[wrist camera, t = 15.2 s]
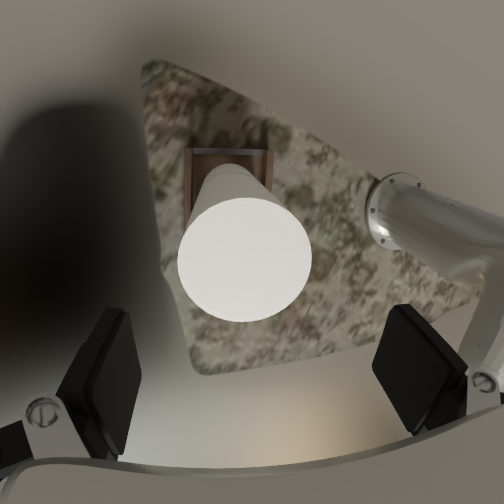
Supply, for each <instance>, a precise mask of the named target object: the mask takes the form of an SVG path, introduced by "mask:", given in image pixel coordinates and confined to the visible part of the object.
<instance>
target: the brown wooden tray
mask: <svg viewBox="0 0 504 504" xmlns="http://www.w3.org/2000/svg"><path fill="white" fill-rule="evenodd" d="M273 157H274V151H272V150H260V149H238V148H185V170H184V225H185V230H186V227H187V224H188V221H189V219H190V216H191V213H192V211H193V208H194V205H195V203H196V200H197V197H198V195H199V192H200V190H201V187H202V185H203V182H204V180H205V178H206V176H207V174H208V173H209V172H210V171H211V170H212V169H214V168H215V167H217V166H219V165H222V164H226V163H232V164H237V165H240V166H242V167H244V168H245V169H247V170H248V171H249V172H250V173H251V174H252V175H253V176H254V177H255V178H256V179H257V180H258V181H259V182H260V183H261V184H262V185H263V186H264V187H265V188H266V189H267V190H268V191H269V192H270V193H271V189H272V173H273Z"/></svg>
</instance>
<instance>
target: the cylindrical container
mask: <svg viewBox="0 0 504 504" xmlns="http://www.w3.org/2000/svg"><path fill="white" fill-rule="evenodd" d="M311 259H312V255H311V246H310V243H309V240H308V237H307V234H306V232H305V230H304V229H303V227H302V225H301V224H300V222H299V221H298V220H297V219H296V218H295V217H294V216H293V215H292V214H291V213H290V212H289V211H288V210H287V209H286V208H285V207H284V206H283V205H282V204H281V203H280V202H279V201H278V200H277V199H276V197H275V196H274V195H273V194H271V193H270V192H269V191H268V190H267V189H266V188H265V187H264V186H263V185H262V184H261V183H260V182H259V181H258V180H257V179H256V178H255V177H254V176H253V175H252V174H251V173H250V172H249V171H248V170H247V169H245V168H244V167H242V166H240V165H237V164H232V163H226V164H222V165H219V166H217V167H215V168H214V169H212V170H211V171H210V172H209V173H208V174H207V176H206V178H205V180H204V182H203V185H202V187H201V190H200V192H199V195H198V197H197V200H196V203H195V205H194V208H193V211H192V213H191V216H190V219H189V221H188V224H187V227H186V230H185V232H184V235H183V238H182V241H181V244H180V247H179V251H178V261H177V263H178V273H179V276H180V279H181V283H182V285H183V287H184V289H185V291H186V292H187V294H188V296H189V297H190V298H191V299H192V300H193V301H194V302H195V304H196V305H197V306H199V307H200V308H202V309H203V310H204V311H206V312H207V313H209V314H211V315H213V316H215V317H217V318H221V319H224V320H228V321H236V322H250V321H256V320H260V319H264V318H267V317H269V316H272V315H274V314H276V313H278V312H279V311H281V310H283V309H284V308H286V307H287V306H288V305H289V304H290V303H291V302H292V301H294V300H295V299H296V297H297V296H298V295H299V293H300V292H301V291H302V289H303V287H304V285H305V283H306V281H307V279H308V276H309V273H310V269H311Z"/></svg>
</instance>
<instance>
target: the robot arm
mask: <svg viewBox="0 0 504 504" xmlns="http://www.w3.org/2000/svg"><path fill="white" fill-rule="evenodd" d="M365 219H366V225H367V228H368V231H369V233H370V235H371V237H372V238H373V239H374V240H375V242H376V243H378V244H379V245H380V246H382V247H384V248H386V249H390V250H400V249H404V250H405V251H407V252H408V253H410V254H411V255H413V256H414V257H415V258H417V259H418V260H420V261H421V262H423V263H424V264H425V265H427V266H428V267H430V268H431V269H432V270H434V271H435V272H437V273H438V274H439V275H441V276H442V277H444V278H445V279H446V280H448V281H449V282H451V283H453V284H455V285H457V286H462V287H470V286H475V285H479V284H482V283H484V287H483V290H482V293H481V296H480V300H479V303H478V305H477V307H476V310H475V312H474V315H473V317H472V319H471V321H470V324H469V326H468V328H467V330H466V333H465V335H464V337H463V339H462V342H461V344H460V346H459V349H458V352H457V353H456V352H455V351H454V350H453V349H452V347H451V346H450V345H449V344H448V343H447V342H446V341H445V340H444V339H443V338H442V337H441V336H440V335H439V334H438V332H437V331H436V330H435V329H434V328H433V327H432V326H431V325H430V324H429V323H428V322H427V321H426V320H425V319H424V318H423V317H422V316H421V315H420V314H419V313H418V312H417V311H416V310H415V309H414V308H413V307H412V306H411V305H410V304H399V305H395V306H394V307H393V309H391V310H390V312H389V315H388V318H387V321H386V324H385V328H384V331H383V334H382V337H381V340H380V343H379V346H378V349H377V352H376V354H375V357H374V360H373V363H372V369H373V372H374V374H375V375H376V377H377V379H378V381H379V382H380V384H381V386H382V387H383V389H384V391H385V393H386V394H387V396H388V398H389V399H390V401H391V403H392V405H393V406H394V408H395V410H396V412H397V413H398V415H399V417H400V419H401V421H402V422H403V424H404V426H405V428H406V429H407V431H408V432H411V433H412V435H413V437H410V438H407V439H404V440H401V441H398V442H394V443H391V444H387V445H384V446H380V447H377V448H373V449H369V450H365V451H361V452H357V453H352V454H348V455H344V456H338V457H333V458H328V459H322V460H316V461H310V462H304V463H296V464H287V465H278V466H267V467H252V468H224V469H210V468H209V469H207V468H204V469H203V468H181V467H165V466H153V465H143V464H135V463H128V462H119V461H117V459H118V455H123V453H124V449H125V445H126V440H127V435H128V431H129V427H130V422H131V418H132V414H133V410H134V405H135V402H136V398H137V394H138V390H139V386H140V382H141V375H142V374H141V368H140V364H139V359H138V355H137V350H136V346H135V341H134V336H133V331H132V326H131V320H130V315H129V313H128V312H124V309H123V308H116V307H107V308H106V309H105V310H104V312H103V314H102V315H101V317H100V319H99V321H98V322H97V324H96V326H95V327H94V329H93V331H92V332H91V334H90V336H89V338H88V340H87V341H86V342H85V343H83V344H82V345H81V347H80V349H79V351H78V352H77V355H76V356H75V358H74V360H73V362H72V364H71V365H70V367H69V369H68V371H67V373H66V375H65V377H64V379H63V381H62V383H61V385H60V387H59V389H58V391H57V393H56V395H52V394H39V395H35V396H33V397H31V398H30V399H29V400H28V401H27V402H26V403H25V404H24V406H23V408H22V412H21V417H22V420H20V421H17V422H15V423H12V424H10V425H7V426H5V427H3V428H0V504H504V217H502V216H499V215H496V214H493V213H490V212H487V211H485V210H482V209H479V208H477V207H474V206H471V205H468V204H465V203H463V202H460V201H458V200H455V199H452V198H449V197H446V196H443V195H441V194H437V193H435V192H431V191H429V190H426V188H425V186H424V185H423V183H422V182H421V181H420V180H419V179H418V178H416V177H415V176H412V175H410V174H407V173H393V174H390V175H388V176H386V177H384V178H383V179H382V180H381V181H379V182H378V183H377V185H376V186H375V187H374V188H373V190H372V192H371V194H370V196H369V199H368V201H367V206H366V216H365Z"/></svg>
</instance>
